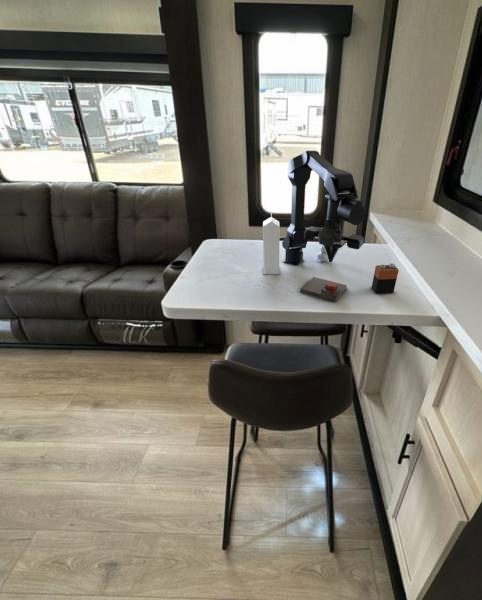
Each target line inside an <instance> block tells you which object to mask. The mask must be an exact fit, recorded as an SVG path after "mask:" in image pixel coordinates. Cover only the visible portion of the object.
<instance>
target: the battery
mask: <svg viewBox="0 0 482 600" xmlns="http://www.w3.org/2000/svg"><path fill="white" fill-rule="evenodd" d="M398 275H399V268H398V267H397V266H396V264H395V263H389V264H379V265H375V267H374V273H373V278H372V283H371V289H372V291H373V292H374V293H375V294H376V295H377V294H392V293H394V292H395V288H396V285H397V279H398Z"/></svg>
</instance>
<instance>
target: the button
mask: <svg viewBox="0 0 482 600" xmlns="http://www.w3.org/2000/svg"><path fill="white" fill-rule="evenodd" d="M336 283H337V282H336ZM336 283H335V281H332V282H326V287H325V288H326V289H327V290H336V286H337V284H336Z"/></svg>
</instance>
